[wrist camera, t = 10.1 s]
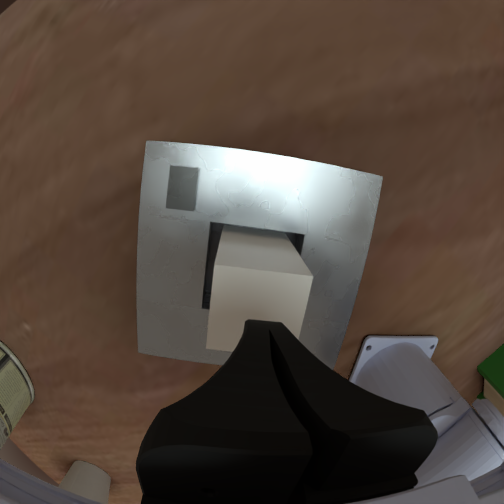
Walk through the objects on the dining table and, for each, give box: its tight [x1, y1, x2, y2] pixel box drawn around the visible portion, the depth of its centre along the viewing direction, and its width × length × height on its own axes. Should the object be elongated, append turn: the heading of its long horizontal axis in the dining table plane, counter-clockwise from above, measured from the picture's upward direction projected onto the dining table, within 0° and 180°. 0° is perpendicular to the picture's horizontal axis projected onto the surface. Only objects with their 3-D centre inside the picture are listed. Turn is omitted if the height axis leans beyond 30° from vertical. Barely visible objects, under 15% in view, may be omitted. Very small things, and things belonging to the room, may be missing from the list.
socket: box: [137, 141, 383, 370], centre depth 19 cm, size 14×14×3 cm
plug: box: [206, 225, 313, 352], centre depth 16 cm, size 4×4×8 cm
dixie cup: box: [58, 461, 111, 504], centre depth 23 cm, size 8×8×10 cm
